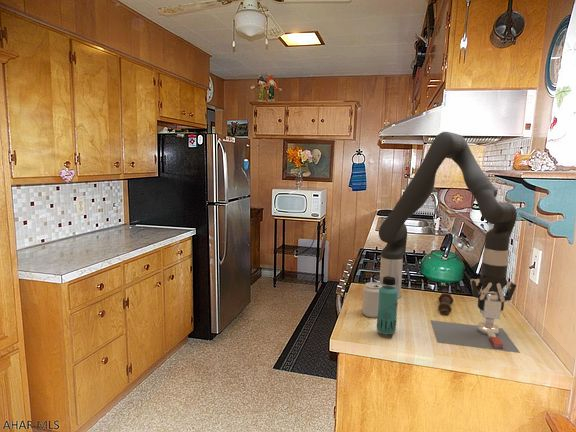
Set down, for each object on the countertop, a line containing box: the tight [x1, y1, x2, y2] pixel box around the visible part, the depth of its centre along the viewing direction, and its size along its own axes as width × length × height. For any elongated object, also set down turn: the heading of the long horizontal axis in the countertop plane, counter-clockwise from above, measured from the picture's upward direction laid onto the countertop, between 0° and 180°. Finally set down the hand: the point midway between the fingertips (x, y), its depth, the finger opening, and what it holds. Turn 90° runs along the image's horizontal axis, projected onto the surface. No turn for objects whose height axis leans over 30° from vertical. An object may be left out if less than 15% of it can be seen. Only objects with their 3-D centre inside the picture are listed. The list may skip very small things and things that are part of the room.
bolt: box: [437, 292, 454, 316], centre depth 150 cm, size 6×5×15 cm
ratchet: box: [477, 318, 503, 349], centre depth 125 cm, size 6×15×5 cm, turn 166°
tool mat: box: [429, 319, 521, 354], centre depth 127 cm, size 24×18×1 cm
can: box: [361, 282, 382, 319], centre depth 144 cm, size 8×8×12 cm
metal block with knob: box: [479, 291, 502, 320], centre depth 128 cm, size 5×5×8 cm
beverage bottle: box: [376, 276, 399, 335], centre depth 127 cm, size 6×7×20 cm
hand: (489, 310), depth 129 cm, fingers closed on metal block with knob, 5 cm apart
